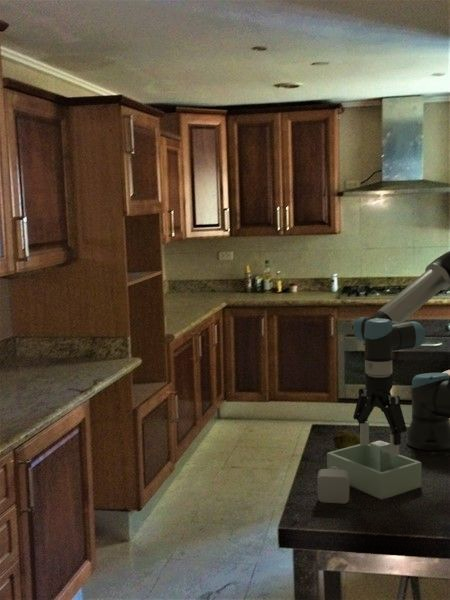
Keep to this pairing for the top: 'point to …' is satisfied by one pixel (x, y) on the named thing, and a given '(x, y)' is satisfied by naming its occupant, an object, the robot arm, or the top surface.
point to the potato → (346, 439)
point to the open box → (376, 472)
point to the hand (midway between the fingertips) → (379, 450)
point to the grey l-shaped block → (380, 456)
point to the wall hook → (333, 485)
